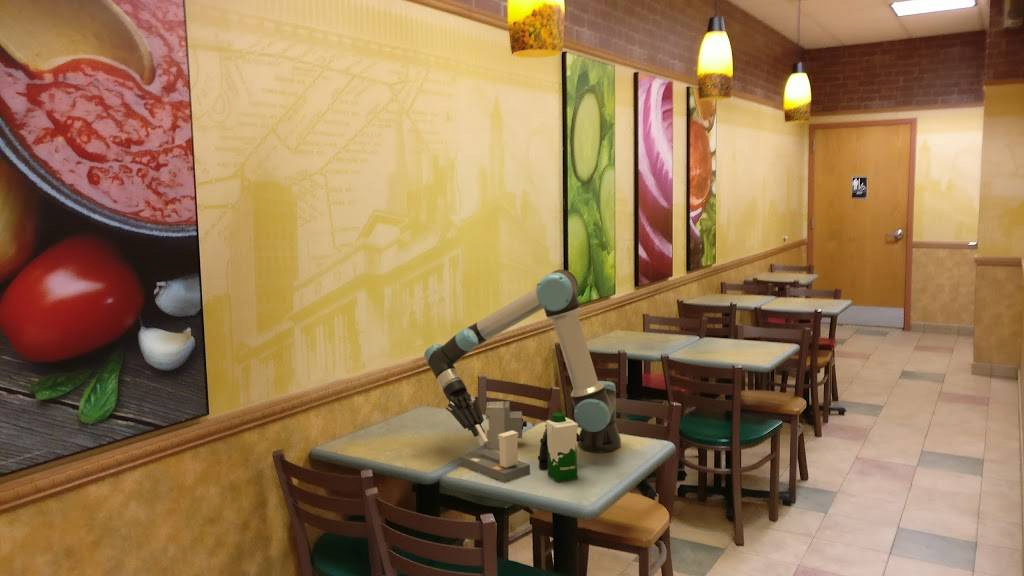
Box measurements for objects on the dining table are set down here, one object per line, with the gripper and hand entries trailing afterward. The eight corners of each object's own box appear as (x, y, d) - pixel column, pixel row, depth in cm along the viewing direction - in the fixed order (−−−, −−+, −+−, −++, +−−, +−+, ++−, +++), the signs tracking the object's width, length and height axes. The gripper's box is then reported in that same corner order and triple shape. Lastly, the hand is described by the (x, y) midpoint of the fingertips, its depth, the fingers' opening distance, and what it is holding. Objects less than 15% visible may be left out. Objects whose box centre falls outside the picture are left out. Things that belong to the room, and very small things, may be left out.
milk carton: (568, 470, 260) (567, 410, 257) (581, 479, 251) (581, 417, 249) (544, 474, 256) (542, 414, 254) (556, 484, 248) (555, 421, 245)
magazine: (528, 462, 263) (547, 420, 262) (564, 476, 266) (583, 435, 265) (530, 466, 260) (549, 424, 259) (567, 480, 262) (585, 438, 261)
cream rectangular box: (498, 465, 256) (497, 434, 254) (512, 461, 259) (512, 430, 258) (504, 468, 253) (504, 436, 252) (519, 463, 257) (518, 432, 256)
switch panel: (460, 465, 267) (460, 456, 266) (486, 457, 274) (486, 448, 273) (504, 482, 250) (504, 473, 250) (530, 473, 257) (529, 464, 257)
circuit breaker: (527, 448, 282) (526, 406, 280) (486, 449, 282) (485, 407, 280) (527, 441, 289) (526, 401, 287) (487, 442, 290) (486, 401, 288)
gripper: (462, 387, 281) (494, 444, 271) (432, 394, 272) (464, 453, 262) (471, 375, 276) (504, 432, 266) (441, 382, 268) (474, 441, 258)
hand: (484, 443), depth 264 cm, fingers closed
